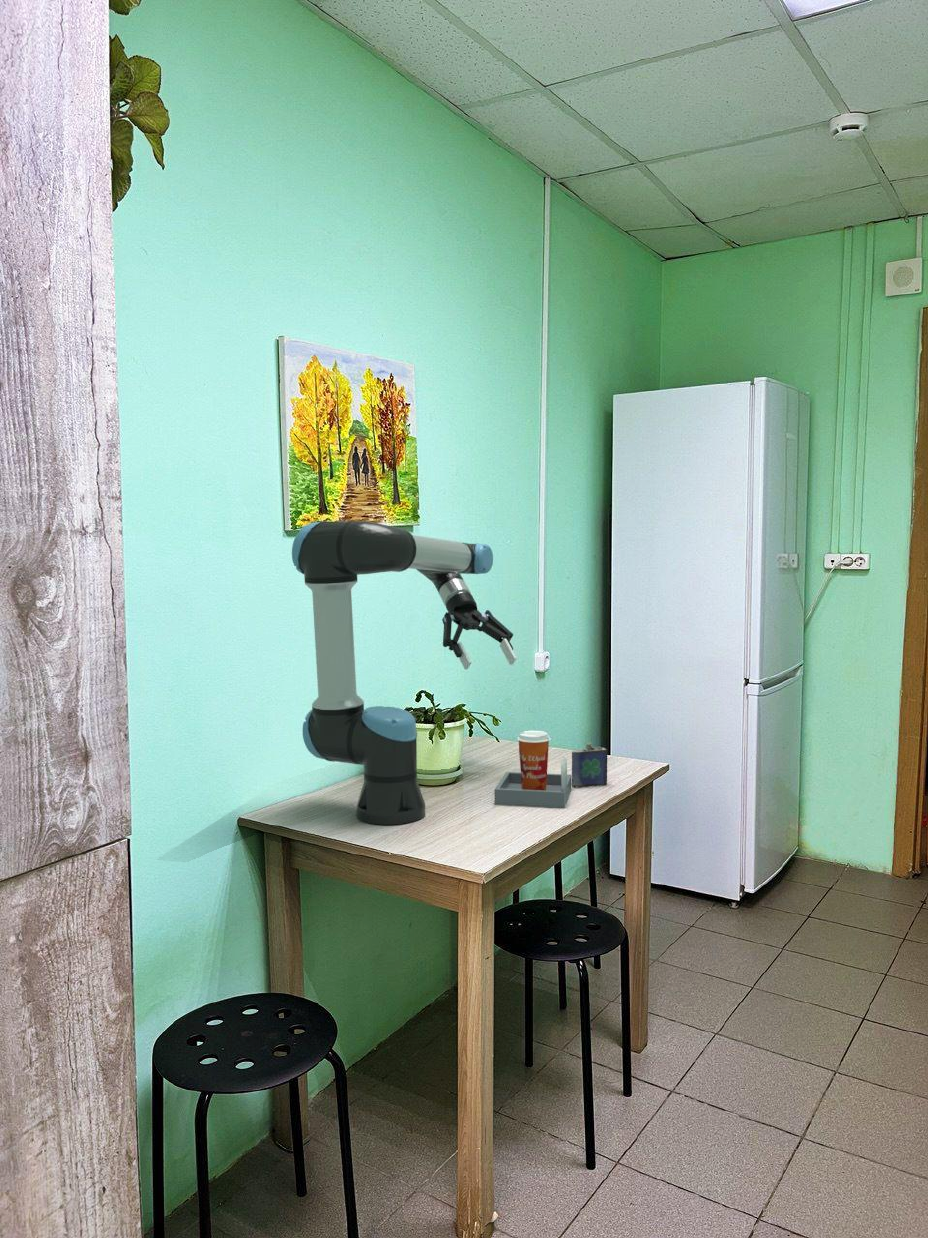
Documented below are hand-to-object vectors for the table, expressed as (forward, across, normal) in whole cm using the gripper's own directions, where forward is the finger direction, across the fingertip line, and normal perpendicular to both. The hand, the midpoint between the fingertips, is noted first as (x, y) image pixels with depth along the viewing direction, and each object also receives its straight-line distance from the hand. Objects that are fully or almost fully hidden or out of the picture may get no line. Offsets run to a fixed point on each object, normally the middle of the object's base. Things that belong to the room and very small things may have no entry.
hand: (491, 663), depth 227 cm
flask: (+33, -17, -9) cm, 38 cm away
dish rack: (+33, 0, -9) cm, 34 cm away
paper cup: (+33, 0, -8) cm, 34 cm away
